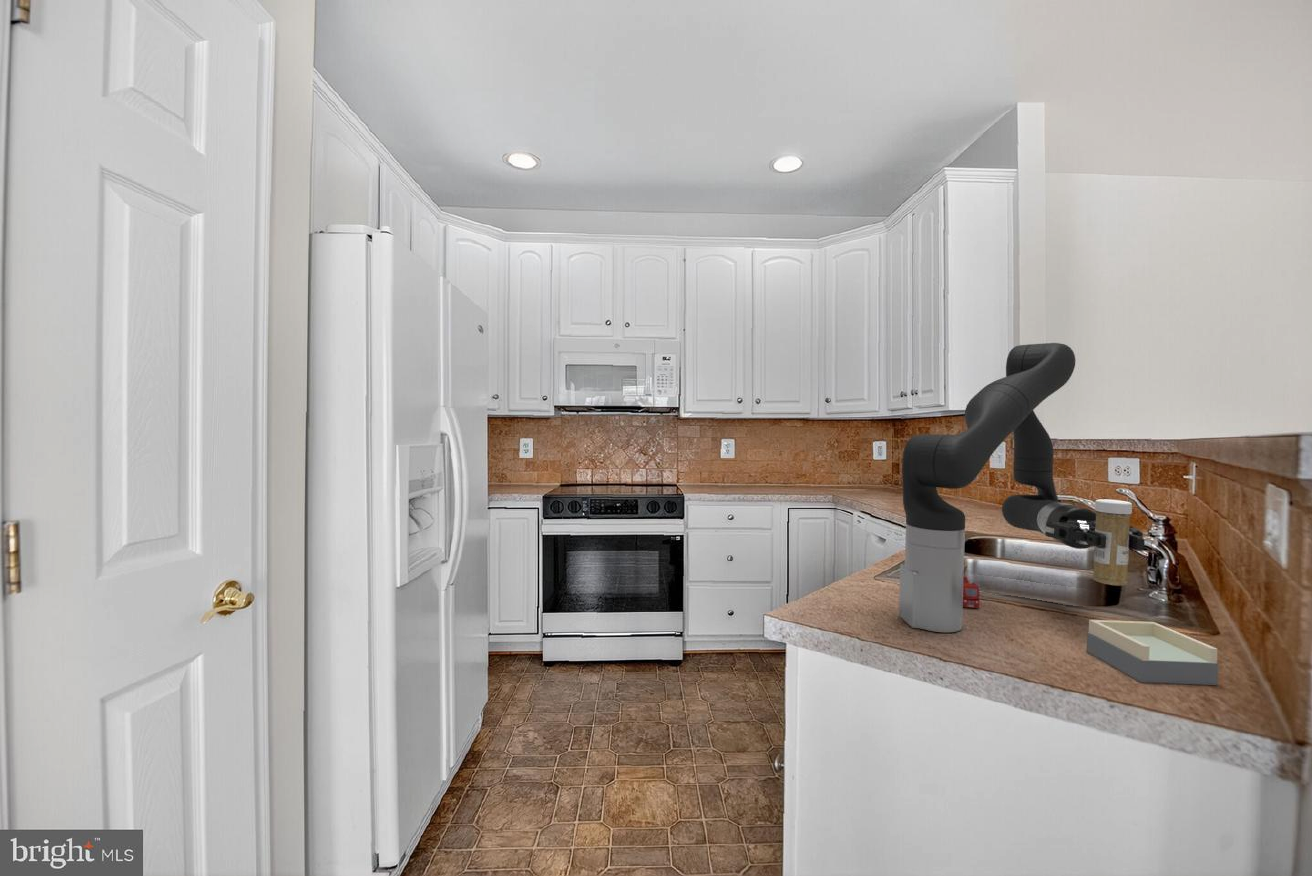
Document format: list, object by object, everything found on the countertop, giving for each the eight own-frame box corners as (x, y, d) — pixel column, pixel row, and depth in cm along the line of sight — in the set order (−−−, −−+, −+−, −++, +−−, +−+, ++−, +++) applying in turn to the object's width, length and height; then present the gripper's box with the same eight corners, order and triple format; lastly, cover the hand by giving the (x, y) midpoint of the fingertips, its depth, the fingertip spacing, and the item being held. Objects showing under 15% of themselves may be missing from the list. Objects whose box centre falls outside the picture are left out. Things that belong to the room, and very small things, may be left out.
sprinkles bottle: (1133, 588, 85) (1137, 503, 85) (1097, 584, 87) (1101, 501, 87) (1120, 580, 90) (1124, 499, 89) (1087, 576, 91) (1091, 497, 91)
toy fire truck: (962, 609, 103) (963, 558, 103) (939, 587, 116) (940, 543, 116) (981, 610, 102) (982, 559, 102) (956, 589, 116) (957, 544, 115)
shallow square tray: (1140, 682, 74) (1141, 645, 74) (1086, 651, 84) (1087, 619, 84) (1217, 685, 73) (1219, 648, 73) (1154, 653, 83) (1155, 621, 83)
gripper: (1026, 502, 104) (1070, 516, 87) (1113, 506, 100) (1177, 522, 84) (1024, 540, 104) (1068, 562, 87) (1111, 546, 100) (1175, 570, 84)
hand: (1121, 543), depth 85 cm, fingers closed on sprinkles bottle, 4 cm apart
